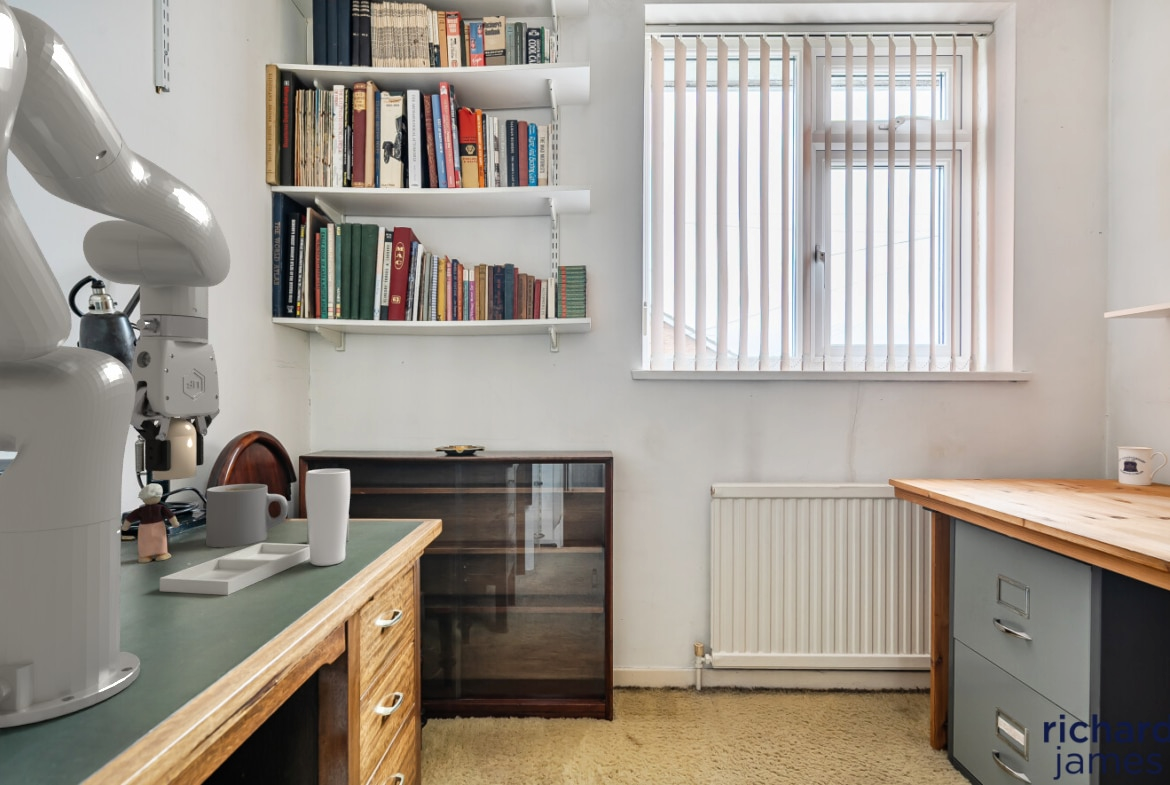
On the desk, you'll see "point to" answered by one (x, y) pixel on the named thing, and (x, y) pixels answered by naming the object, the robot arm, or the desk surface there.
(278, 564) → the white divided tray
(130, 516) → the grandmother figurine
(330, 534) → the drinking glass
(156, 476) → the beige domed cylinder
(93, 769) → the desk surface
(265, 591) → the desk surface
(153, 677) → the desk surface
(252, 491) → the coffee mug
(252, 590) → the desk surface
